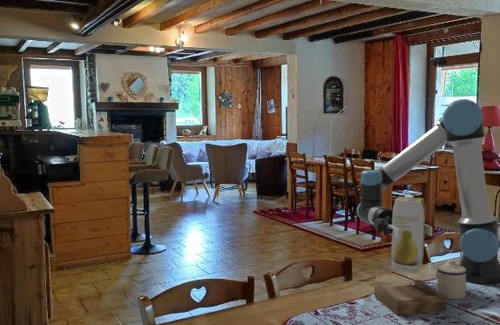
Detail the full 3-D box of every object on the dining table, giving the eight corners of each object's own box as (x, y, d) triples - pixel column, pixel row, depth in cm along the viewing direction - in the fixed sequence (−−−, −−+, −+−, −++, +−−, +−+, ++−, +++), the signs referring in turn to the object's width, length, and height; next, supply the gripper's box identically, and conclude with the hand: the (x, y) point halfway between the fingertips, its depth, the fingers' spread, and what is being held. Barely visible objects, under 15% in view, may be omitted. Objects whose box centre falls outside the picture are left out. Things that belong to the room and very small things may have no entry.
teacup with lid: (472, 298, 160) (473, 262, 159) (448, 301, 158) (449, 265, 157) (448, 286, 172) (448, 253, 171) (425, 289, 169) (425, 256, 168)
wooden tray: (419, 292, 166) (419, 279, 166) (446, 310, 150) (446, 296, 150) (374, 297, 163) (374, 283, 163) (397, 315, 148) (397, 301, 147)
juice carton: (389, 271, 154) (392, 195, 152) (393, 264, 162) (396, 191, 159) (421, 275, 150) (424, 197, 148) (423, 268, 158) (426, 193, 155)
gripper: (412, 226, 175) (448, 242, 153) (352, 230, 171) (380, 246, 149) (412, 206, 174) (449, 218, 152) (352, 209, 170) (380, 222, 148)
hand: (415, 232), depth 151 cm, fingers closed on juice carton, 10 cm apart
